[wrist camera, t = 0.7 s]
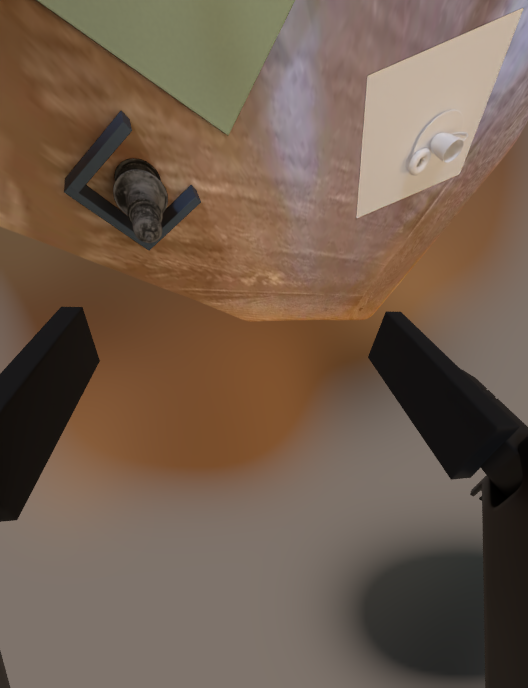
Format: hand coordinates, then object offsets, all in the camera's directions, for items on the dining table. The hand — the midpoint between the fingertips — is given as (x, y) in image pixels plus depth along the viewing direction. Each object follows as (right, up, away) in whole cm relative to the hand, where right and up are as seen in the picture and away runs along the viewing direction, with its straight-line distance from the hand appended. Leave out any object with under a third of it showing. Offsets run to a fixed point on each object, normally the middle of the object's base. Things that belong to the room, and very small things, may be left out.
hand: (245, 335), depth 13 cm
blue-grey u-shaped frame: (-15, +20, +22) cm, 33 cm away
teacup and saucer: (+24, +31, +29) cm, 49 cm away
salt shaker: (-15, +20, +22) cm, 33 cm away
